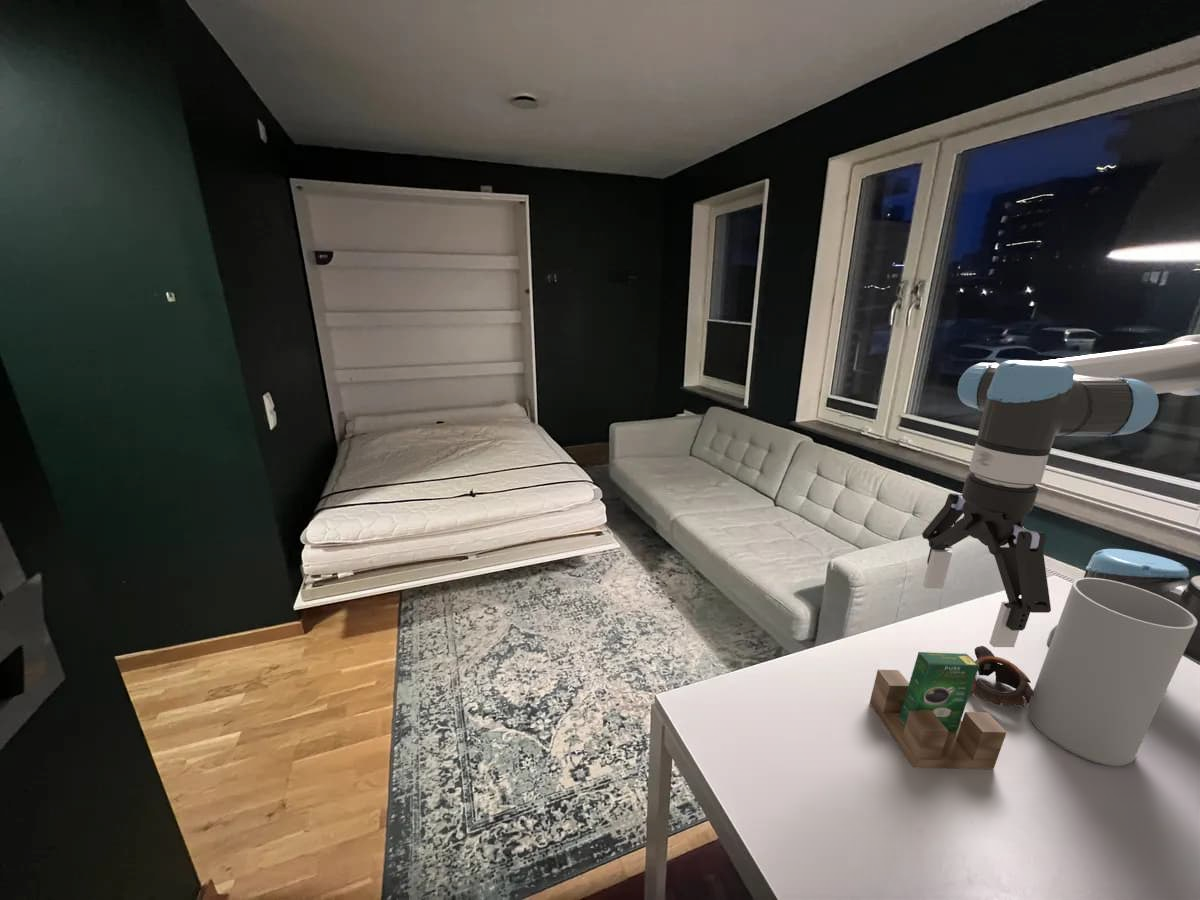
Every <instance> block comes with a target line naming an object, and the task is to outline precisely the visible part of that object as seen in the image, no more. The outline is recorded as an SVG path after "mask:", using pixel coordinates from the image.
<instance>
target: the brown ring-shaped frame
mask: <svg viewBox="0 0 1200 900" xmlns="http://www.w3.org/2000/svg"><path fill="white" fill-rule="evenodd" d="M974 655H975V658H976V660H974V661H975V662H976V663H977V664H978V665H979V668H978V671H977V674H978V675H979V676H985V677H990V675H992V674H994V675H995V683H998V684H1003V685H1006V686H1009V687H1010V688H1012V689H1014V690H1011V691H999V690H996V689H992V688H991V687H989V686H987V685H985V684H984V682H983V681H981V679H980V678H976V677H975V680H974V683H973V686H972V688H971V692H970V694H969V696H970V695H973V696H975V697H977V698H978V699H979V698H980V699H982V700H984V701H985V702H988V703H990V704H993V705H995V706H1000V705H1002V706H1004V707H1005V706H1007V707H1010V706H1019V707H1020V708H1021V707H1022V708H1026V706H1025V701H1026V703H1027V704H1029V701H1030V699H1031V696H1034V691H1033V690H1034V689H1033V688H1032V687H1031V685H1030V684H1031V680H1030V679H1029V677H1028V676H1027V675H1026V673H1025V672H1024V671H1022V670H1021V669H1019V667H1018V666H1017V665H1016V664H1014V663H1012V662H1011V661H1009V660H1008V659H1005V658H1003V657H998V656H995V655H994V654H993V652H992V651H991V650H990V649H989V648H987V647H986V646H984V645H980V646H976V647H975V648H974ZM977 674H976V676H977Z"/></svg>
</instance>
